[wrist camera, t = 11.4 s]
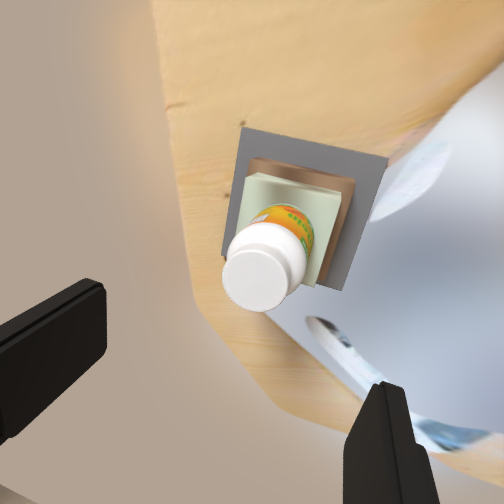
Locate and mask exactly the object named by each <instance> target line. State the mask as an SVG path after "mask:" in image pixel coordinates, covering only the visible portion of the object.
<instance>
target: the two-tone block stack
mask: <svg viewBox="0 0 504 504" xmlns="http://www.w3.org/2000/svg"><path fill="white" fill-rule="evenodd" d="M355 186H356V182H355V179H354V178H350V177H346V176H342V175H337V174H333V173H329V172H324V171H320V170H316V169H311V168H307V167H303V166H298V165H294V164H290V163H285V162H281V161H276V160H272V159H268V158H263V157H257V158H253V159H250V160H249V165H248V171H247V177H246V179H245V184H244V190H243V195H242V201H241V207H240V212H239V218H238V223H237V229H236V235H237V234H238V233H239V232H240V231H241V230H242V229H243V228H244V227H245V226H246V225H247V224H248V223H249V222H250V221H251V220H252V219H253V218H255V217H256V216H257V215H258V214H259V213H260V212H261V211H262V210H264V209H265V208H267V207H269V206H271V205H275V204H289V205H293V206H295V207H297V208H299V209H301V210H302V211H303V212H304V213H305V214H306V215H307V216H308V217H309V219H310V221H311V223H312V225H313V229H314V242H313V246H312V250H311V253H310V258H309V261H308V265H307V269H306V272H305V275H304V278H303V280H302V282H301V284H304V285H308V286H311V287H314V286H315V283H316V280H317V279H319V280H322V281H325V278H326V275H327V272H328V269H329V266H330V262H331V259H332V256H333V253H334V250H335V247H336V244H337V241H338V238H339V235H340V232H341V229H342V226H343V223H344V219H345V216H346V213H347V210H348V207H349V204H350V201H351V198H352V195H353V192H354V189H355ZM236 235H235V236H236Z"/></svg>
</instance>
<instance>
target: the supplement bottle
mask: <svg viewBox="0 0 504 504" xmlns="http://www.w3.org/2000/svg"><path fill="white" fill-rule="evenodd" d="M313 242H314V229H313V225H312V223H311V221H310V219H309V217H308V216H307V215H306V214H305V213H304V212H303V211H302V210H301V209H299V208H297V207H295V206H293V205H289V204H275V205H271V206H269V207H267V208H265V209H264V210H262V211H261V212H260V213H259V214H258V215H257V216H256V217H255V218H253V219H252V220H251V221H250V222H249V223H248V224H247V225H246V226H245V227H244V228H243V229H242V230H241V231H240V232H239V233H238V234H237V235H236V236H235V237H234V239H233V240H232V242H231V244H230V246H229V249H228V252H227V262H226V264H225V266H224V269H223V273H222V282H223V286H224V289H225V291H226V293H227V295H228V296H229V298H230V299H231V300H232V301H233V302H234V303H235V304H237V305H238V306H240V307H241V308H243V309H246V310H249V311H253V312H265V311H269V310H272V309H274V308H276V307H277V306H278V305H279V304H281V302H282V301H283V300H284V299H285V297H286V296H288V295H289V294H291V293H292V292H293V291H295V290H296V288H297V287H298V286H299V285H300V283H301V282H302V280H303V278H304V275H305V272H306V269H307V265H308V261H309V258H310V253H311V250H312V246H313Z"/></svg>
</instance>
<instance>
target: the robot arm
mask: <svg viewBox="0 0 504 504" xmlns="http://www.w3.org/2000/svg"><path fill="white" fill-rule="evenodd" d="M106 304H107V303H106V290H105V289H104V286H103V284H102V283H100V282H97V281H94V280H91V279H88V278H85V279H82V280H80V281H78V282H77V283H75V284H73V285H71V286H70V287H68V288H66V289H64V290H63V291H61V292H59V293H57V294H55V295H54V296H52V297H50V298H48V299H46V300H45V301H43V302H41V303H39V304H38V305H36V306H34V307H32V308H31V309H29V310H27V311H25V312H24V313H22V314H20V315H18V316H16V317H14V318H13V319H11V320H9V321H7V322H6V323H4V324H2V325H0V445H2V444H3V443H4V442H5V441H6V440H7V439H8V438H13V437H14V436H16V435H17V434H19V433H20V432H21V431H22V430H23V429H24V428H25V427H26V426H27V425H28V424H30V423H31V422H32V421H33V420H34V419H35V418H36V417H37V416H38V415H39V414H40V413H41V412H43V410H45V409H46V408H47V407H48V406H49V405H50V404H51V403H52V402H53V401H54V400H55V399H57V398H58V397H59V396H60V395H61V394H62V393H63V392H64V391H65V390H66V389H67V388H68V387H70V386H71V385H72V384H73V383H74V382H75V381H76V380H77V379H78V378H79V377H80V376H82V375H83V374H84V373H85V372H86V371H87V370H88V369H89V368H90V367H91V366H92V365H93V364H95V362H97V361H98V360H99V359H100V358H101V357H102V356H103V355H104V353H105V351H106V349H107V308H106V307H107V306H106ZM0 504H37V503H35V502H33V501H31V500H29V499H27V498H26V497H24V496H22V495H20V494H18V493H16V492H14V491H12V490H10V489H8V488H6V487H4V486H2V485H0ZM343 504H440V502H439V498H438V494H437V490H436V486H435V482H434V478H433V474H432V470H431V466H430V462H429V458H428V455H427V452H426V449H425V448H424V447H423V446H422V445H420V444H417V443H416V442H415V437H414V433H413V428H412V424H411V419H410V415H409V410H408V406H407V401H406V397H405V392H404V389H403V388H402V387H399V386H396V385H393V384H390V383H387V382H385V381H382V382H380V384H379V385H378V384H373V385H372V387H371V389H370V391H369V393H368V396H367V398H366V400H365V402H364V404H363V406H362V408H361V410H360V412H359V414H358V416H357V418H356V420H355V422H354V424H353V426H352V428H351V431H350V433H349V435H348V437H347V439H346V441H345V445H344V452H343Z"/></svg>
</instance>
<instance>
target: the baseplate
mask: <svg viewBox="0 0 504 504" xmlns="http://www.w3.org/2000/svg"><path fill="white" fill-rule="evenodd" d="M257 157H263V158H268V159H272V160H276V161H281V162H285V163H290V164H294V165H298V166H303V167H307V168H311V169H316V170H320V171H324V172H329V173H333V174H337V175H342V176H346V177H350V178H354V179H355V182H356V186H355V189H354V192H353V195H352V198H351V201H350V204H349V207H348V210H347V213H346V216H345V219H344V223H343V226H342V229H341V232H340V235H339V238H338V241H337V244H336V247H335V250H334V253H333V256H332V259H331V262H330V266H329V269H328V272H327V275H326V278H325V281H322V280H319V279H317V280H316V284H319V285H323V286H326V287H330V288H333V289H336V290H340V291H342V288H343V286H344V283H345V280H346V277H347V274H348V272H349V269H350V266H351V263H352V260H353V257H354V255H355V252H356V249H357V246H358V244H359V241H360V238H361V235H362V232H363V230H364V227H365V224H366V221H367V218H368V216H369V213H370V210H371V207H372V204H373V202H374V199H375V196H376V193H377V190H378V187H379V185H380V182H381V179H382V176H383V174H384V171H385V168H386V165H387V162H388V160H389V158H386V157H381V156H377V155H372V154H367V153H363V152H358V151H353V150H349V149H344V148H339V147H335V146H330V145H325V144H321V143H316V142H311V141H307V140H302V139H297V138H293V137H288V136H283V135H279V134H274V133H269V132H265V131H260V130H255V129H251V128H246V127H242V129H241V135H240V141H239V147H238V153H237V160H236V166H235V172H234V178H233V184H232V190H231V196H230V203H229V209H228V215H227V221H226V227H225V233H224V239H223V246H222V252H221V256H225V257H227V252H228V249H229V246H230V244H231V242H232V240H233V239H234V237H235V235H236V229H237V223H238V218H239V212H240V207H241V201H242V195H243V190H244V184H245V179H246V177H247V171H248V165H249V160H250V159H253V158H257Z"/></svg>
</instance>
